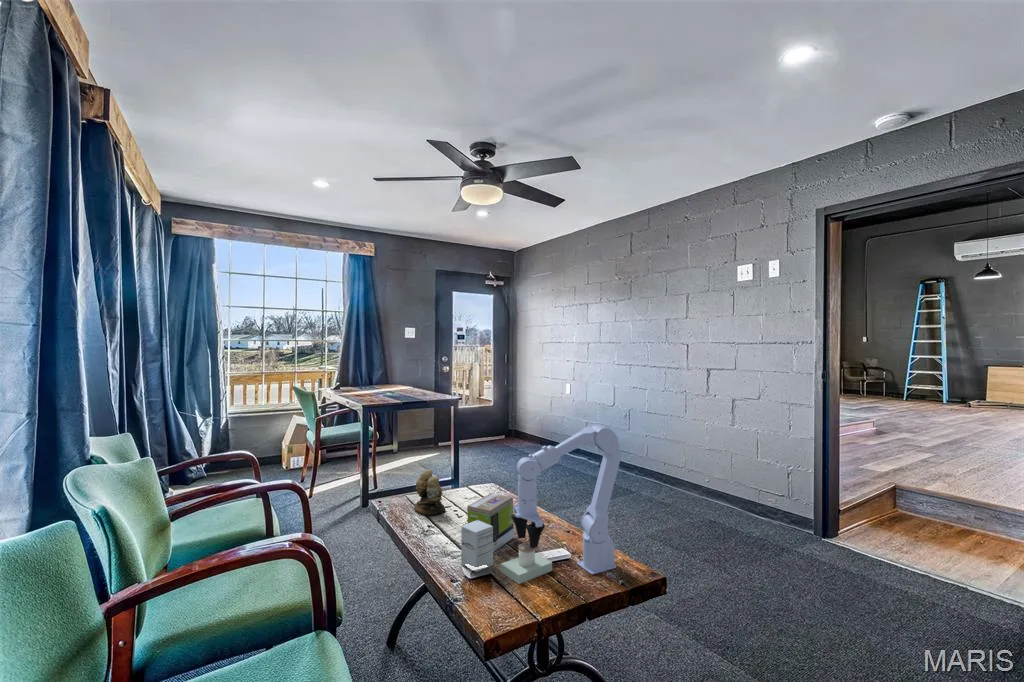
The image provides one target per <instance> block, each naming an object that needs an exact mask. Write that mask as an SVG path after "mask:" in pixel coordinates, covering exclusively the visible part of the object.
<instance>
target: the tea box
mask: <svg viewBox="0 0 1024 682" xmlns="http://www.w3.org/2000/svg"><path fill="white" fill-rule="evenodd" d="M466 507H467V509H466V511H467V524H468V523H471V522H473V521H476V520H479V521H481V522H484V523H486V524H489V525H491V526H493V553H494V552H496V551H497V550H498V549H499V548H501V547H502V546H504V545H505V544H506V543H508V542H510V540H512V539H513V538H515V529H514V528H515V524H514V521H513V519H512V517H511V515H513V514H514V497H513V496H506V495H500V494H496V493H495V494H494V493H489V494H487V495H485V496H483V497H481V498H479V499H478V500H476V501H474V502H472V503H470V504H468V505H467V506H466Z"/></svg>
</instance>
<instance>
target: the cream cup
mask: <svg viewBox="0 0 1024 682" xmlns="http://www.w3.org/2000/svg"><path fill="white" fill-rule="evenodd" d="M536 548H537V547H536ZM536 548H531V547H530V542H524V543H520V544H519V545H518V557H519V561H518V563H519V565H521V566H523V567H531V566H534V564H535V553H536Z"/></svg>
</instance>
